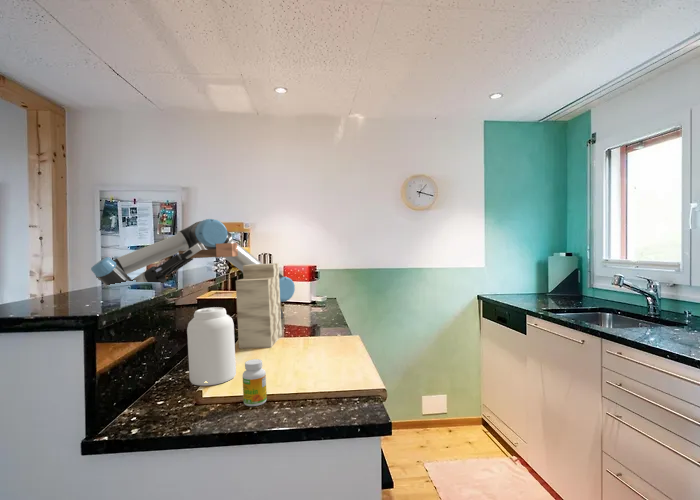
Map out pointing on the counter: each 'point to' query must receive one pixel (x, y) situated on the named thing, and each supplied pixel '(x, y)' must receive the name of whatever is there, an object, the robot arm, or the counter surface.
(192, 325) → the white jar
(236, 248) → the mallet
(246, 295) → the stand
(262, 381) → the supplement bottle
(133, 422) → the counter surface
